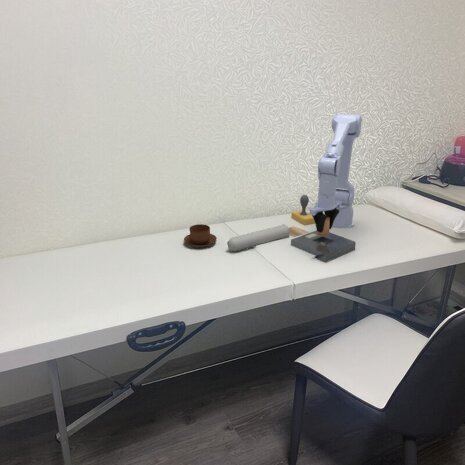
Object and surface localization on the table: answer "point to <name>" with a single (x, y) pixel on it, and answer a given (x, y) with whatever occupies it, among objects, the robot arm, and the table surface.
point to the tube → (258, 237)
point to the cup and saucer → (200, 236)
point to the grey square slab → (324, 252)
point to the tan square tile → (296, 231)
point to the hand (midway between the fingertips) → (323, 230)
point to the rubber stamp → (303, 213)
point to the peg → (325, 227)
